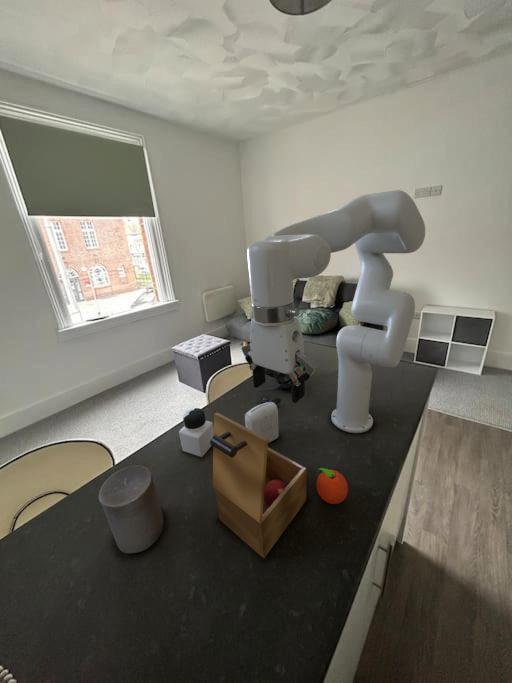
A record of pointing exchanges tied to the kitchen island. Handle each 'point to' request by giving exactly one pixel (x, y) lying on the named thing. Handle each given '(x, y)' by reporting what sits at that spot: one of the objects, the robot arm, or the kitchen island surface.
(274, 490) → the onion
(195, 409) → the medicine bottle
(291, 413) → the kitchen island surface
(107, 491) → the pillar candle
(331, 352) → the kitchen island surface
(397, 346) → the robot arm
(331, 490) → the clementine
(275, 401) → the headset
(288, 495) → the chest
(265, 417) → the photo printer
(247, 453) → the lid
